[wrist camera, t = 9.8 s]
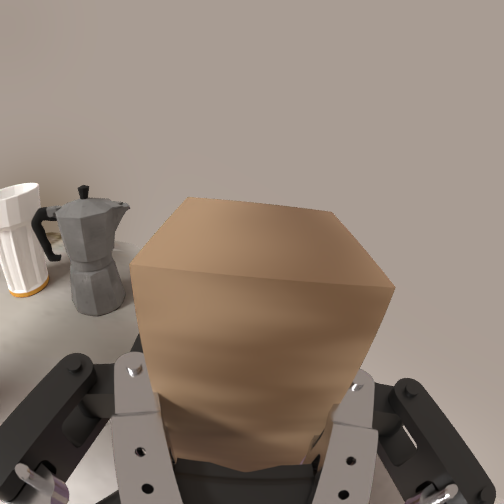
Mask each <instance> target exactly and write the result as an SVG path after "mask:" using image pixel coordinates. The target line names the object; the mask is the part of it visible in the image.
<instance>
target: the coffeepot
mask: <svg viewBox="0 0 504 504" xmlns="http://www.w3.org/2000/svg"><path fill="white" fill-rule="evenodd" d="M78 191H79V195H80V199H78V200H75V201H72V202H69V203H66V204H65V205H63V206H51V207H43V208H39V209H38V210H37V211H36V213H35V215H34V217H33V218H32V221H31V226H32V229H33V231H34V233H35V235H36V237H37V239H38V241H39V243H40V244H41V246H42V248H43V250H44V252H45V254H46V256H47V258H48V259H49V261H60V260H61V255H55V254H54V253H53V251H52V247H51V244H50V242H49V241H48V239H47V237H46V233H45V230H44V228H43V226H42V225H41V222H42V221H43V220H48V221H57V222H58V226H59V229H60V233H61V236H62V239H63V243H64V246H65V249H66V252H67V255H68V257H69V258H70V261H71V265H70V279H71V293H72V301H73V303H74V305H75V307H76V309H77V311H78V312H80V313H82V314H85V315H90V316H99V315H104V314H107V313H110V312H112V311H114V310H115V309H117V308H118V307H119V306H120V305H121V304H122V302H123V299H124V296H125V295H126V294H125V291H124V288H123V285H122V283H121V280H120V277H119V274H118V270H117V267H116V264H115V261H114V260H113V258H112V252H111V251H112V250H113V248H114V236H115V231H116V229H117V227H118V225H119V223H120V221H121V219H122V217H123V215H124V214H125V212H126V211H127V210H128V209H130V207H129V205H128V204H127V203H123V202H115V201H111V200H110V199H105V198H88V191H89V186H85V185H82V186H80V187H79V188H78Z"/></svg>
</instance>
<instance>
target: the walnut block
mask: <svg viewBox="0 0 504 504" xmlns="http://www.w3.org/2000/svg"><path fill="white" fill-rule="evenodd" d="M129 266H130V275H131V283H132V290H133V297H134V304H135V310H136V316H137V322H138V328H139V333H140V338H141V343H142V348H143V353H144V358H145V362H146V367H147V371H148V375H149V379H150V383H151V387H152V391H153V392H157V393H158V395H159V399H160V403H161V409H162V414H163V419H164V423H165V426H167V428H168V431H169V435H170V440H171V444H172V448H173V452H174V455H175V458H176V462H177V458H182V459H189V460H196V461H203V462H211V463H214V464H217V465H220V466H224V467H227V468H230V469H234V470H238V471H241V472H252V471H257V470H262V469H266V468H271V467H275V466H280V465H299V464H300V463H301V461H302V460H303V459H304V457H305V456H306V455H307V452H308V448H309V445H310V442H311V440H312V438H313V437H314V435H321V433H322V432H323V430H324V429H325V425H326V421H327V417H328V412H329V411H330V409H331V407H332V406H333V404H340V403H341V401H342V399H343V398H344V396H345V394H346V392H347V391H348V389H349V387H350V385H351V383H352V382H353V380H354V378H355V376H356V374H357V372H358V370H359V369H360V367H361V365H362V363H363V360H364V359H365V357H366V355H367V353H368V351H369V348H370V346H371V344H372V342H373V340H374V338H375V336H376V333H377V331H378V329H379V327H380V324H381V322H382V320H383V317H384V315H385V313H386V310H387V308H388V305H389V303H390V300H391V298H392V295H393V293H394V290H395V286H394V285H393V284H392V282H391V281H390V280H389V278H388V277H387V276H386V275H385V274H384V272H383V271H382V270H381V268H380V267H379V266H378V265H377V264H376V263H375V261H374V260H373V259H372V258H371V256H370V255H369V254H368V253H367V252H366V250H365V249H364V248H363V247H362V246H361V244H360V243H359V242H358V241H357V240H356V239H355V238H354V236H353V235H352V234H351V233H350V232H349V231H348V230H347V228H346V227H345V226H344V225H343V224H342V223H341V222H340V221H339V219H338V218H337V217H336V216H335V215H334V214H333V213H332V212H328V211H320V210H313V209H305V208H297V207H289V206H280V205H271V204H262V203H252V202H241V201H230V200H220V199H207V198H194V197H187V199H186V200H185V201H184V202H183V203H182V204H181V205H180V206H179V207H178V209H176V210H175V212H174V213H173V214H172V215H171V216H170V217H169V218H168V219H167V220H166V221H165V223H164V224H163V225H162V226H161V227H160V228H159V229H158V231H157V232H156V233H155V234H154V235H153V236H152V238H151V239H150V240H149V241H148V242H147V243H146V245H145V246H144V247H143V248H142V249H141V250H140V252H139V253H138V254H137V255H136V256H135V258H134V259H133V260H132V261H131V263H130V264H129Z"/></svg>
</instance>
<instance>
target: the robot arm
mask: <svg viewBox="0 0 504 504" xmlns="http://www.w3.org/2000/svg"><path fill="white" fill-rule="evenodd" d="M110 418H111V431H112V443H113V453H114V462H115V470H116V477H117V483H118V489H119V490H117V491H115V492H114V493H112V494H111V495H109V496H108V497H106V498H104V499H103V500H101V501H99V502H98V503H96V504H369V499H370V494H371V488H372V482H373V476H374V469H375V462H376V454H378V455H379V457H380V459H381V461H382V462H383V464H384V466H385V468H386V469H387V471H388V473H389V475H390V476H391V478H392V480H393V482H394V483H395V485H396V487H397V489H398V491H399V492H400V494H401V496H402V498H403V499H404V501H405V504H494V501H495V498H496V490H495V487H494V485H493V483H492V482H491V480H490V479H489V477H488V476H487V474H486V473H485V471H484V469H483V468H482V466H481V465H480V464H479V462H478V461H477V459H476V458H475V456H474V455H473V453H472V452H471V450H470V449H469V448H468V446H467V445H466V443H465V442H464V441H463V439H462V438H461V436H460V435H459V434H458V432H457V431H456V429H455V428H454V427H453V425H452V424H451V423H450V421H449V420H448V419H447V417H446V416H445V415H444V413H443V412H442V411H441V409H440V408H439V407H438V405H437V404H436V403H435V401H434V400H433V399H432V397H431V396H430V395H429V394H428V392H427V391H426V390H425V389H424V387H423V386H422V385H421V384H420V383H419V382H418V381H416V380H414V379H410V378H403V379H400V380H399V381H398V382H397V383H396V384H395V386H389V385H384V384H379V383H375V382H374V380H373V378H372V377H371V375H369V374H368V373H367V372H366V371H364V370H362V369H359V370H358V372H357V374H356V376H355V378H354V380H353V382H352V383H351V385H350V387H349V389H348V391H347V392H346V394H345V396H344V398H343V399H342V401H341V403H340V404H333V406H332V407H331V409H330V411H329V412H328V417H327V421H326V425H325V429H324V430H323V432H322V433H321V435H314V437H313V438H312V440H311V442H310V445H309V448H308V452H307V455H306V457H305V459H304V461H303V463H302V464H301V465H280V466H275V467H271V468H266V469H262V470H257V471H252V472H241V471H238V470H234V469H230V468H227V467H224V466H220V465H217V464H214V463H211V462H203V461H196V460H189V459H182V458H177V462H176V458H175V455H174V452H173V448H172V444H171V440H170V435H169V431H168V428H167V426H165V423H164V419H163V414H162V409H161V403H160V399H159V395H158V393H157V392H153V391H152V387H151V383H150V379H149V375H148V371H147V367H146V362H145V358H144V353H143V348H142V343H141V338H140V333H139V334H138V336H137V338H136V340H135V343H134V345H133V347H132V349H131V351H130V352H129V353H126V354H123V355H122V356H120V357H119V358H118V359H117V360H116V362H115V363H113V364H93V363H92V361H91V359H90V358H89V357H88V356H86V355H84V354H81V353H74V354H70V355H67V356H66V357H64V358H63V359H62V360H61V361H60V362H59V363H58V364H57V365H56V366H55V367H54V368H53V369H52V370H51V371H50V372H49V373H48V374H47V375H46V376H45V377H44V378H43V379H42V381H41V382H40V383H39V384H38V385H37V386H36V387H35V388H34V389H33V390H32V391H31V392H30V393H29V394H28V396H27V397H26V398H25V399H24V400H23V401H22V402H21V403H20V404H19V405H18V407H17V408H16V409H15V410H14V411H13V412H12V413H11V414H10V416H9V417H8V418H7V419H6V420H5V421H4V423H3V424H2V425H1V426H0V501H2V502H4V503H6V504H67V503H68V501H69V491H68V488H67V486H66V484H65V483H66V481H67V480H68V478H69V477H70V475H71V474H72V472H73V471H74V469H75V468H76V466H77V465H78V464H79V462H80V461H81V459H82V458H83V456H84V455H85V453H86V452H87V451H88V449H89V448H90V446H91V445H92V443H93V442H94V440H95V439H96V438H97V436H98V435H99V433H100V432H101V431H102V429H103V428H104V426H105V425H106V423H107V422H108V421H109V419H110ZM403 425H404V426H405V427H406V429H407V430H408V432H409V433H410V435H411V436H412V438H413V439H414V441H415V442H416V444H417V449H416V447H415V446H414V444H413V442H412V441H411V440H410V438H409V436H408V435H407V433H406V432H405V430H404V429H403V427H402V426H403Z"/></svg>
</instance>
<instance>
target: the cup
mask: <svg viewBox="0 0 504 504" xmlns="http://www.w3.org/2000/svg"><path fill="white" fill-rule="evenodd" d="M39 208H41V207H40V193H39V185H38V184H37V183H25V184H18V185H14V186H10V187H6V188H3V189H0V263H1V266H2V269H3V272H4V275H5V278H6V281H7V284H8V288H9V291H10V293H11V294H12V295H13V296H16V297H28V296H31V295H33V294H36V293H38V292H39V291H41V290H42V289H43V288H44V287H45V286H46V285H47V283H48V281H49V276H48V271H47V266H46V261H45V256H44V250H43V248H42V246H41V244H40V243H39V241H38V239H37V237H36V235H35V233H34V231H33V229H32V226H31V221H32V218H33V217H34V215H35V213H36V211H37V210H38V209H39Z"/></svg>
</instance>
